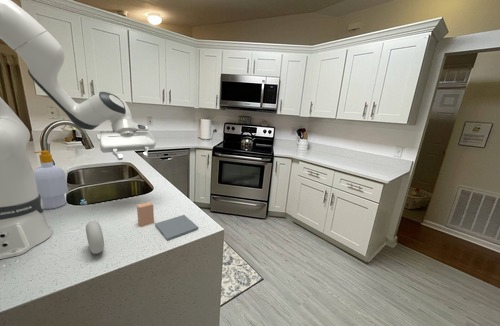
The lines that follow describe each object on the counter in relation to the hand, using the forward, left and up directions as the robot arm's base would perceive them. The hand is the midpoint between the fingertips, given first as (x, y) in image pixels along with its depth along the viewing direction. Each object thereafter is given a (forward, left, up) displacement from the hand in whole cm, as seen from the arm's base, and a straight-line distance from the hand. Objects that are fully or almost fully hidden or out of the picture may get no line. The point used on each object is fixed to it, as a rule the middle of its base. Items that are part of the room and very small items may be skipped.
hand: (133, 158), depth 85 cm
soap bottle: (-26, +25, -24) cm, 44 cm away
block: (0, -12, -24) cm, 27 cm away
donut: (-17, -20, -24) cm, 36 cm away
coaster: (+8, -22, -24) cm, 33 cm away
